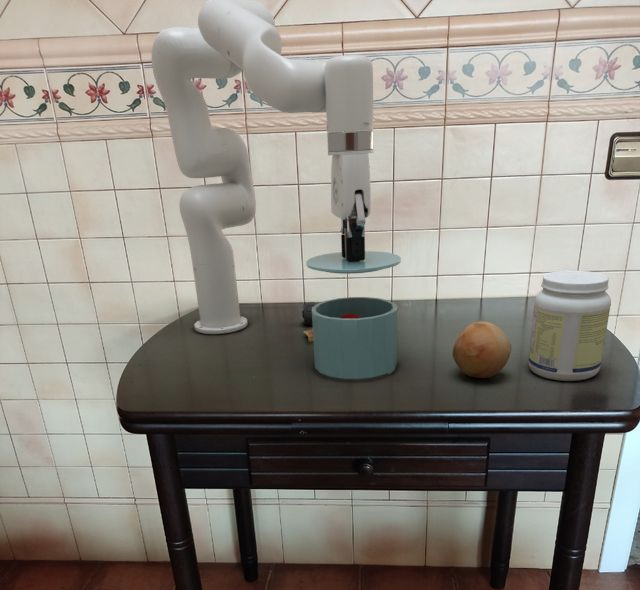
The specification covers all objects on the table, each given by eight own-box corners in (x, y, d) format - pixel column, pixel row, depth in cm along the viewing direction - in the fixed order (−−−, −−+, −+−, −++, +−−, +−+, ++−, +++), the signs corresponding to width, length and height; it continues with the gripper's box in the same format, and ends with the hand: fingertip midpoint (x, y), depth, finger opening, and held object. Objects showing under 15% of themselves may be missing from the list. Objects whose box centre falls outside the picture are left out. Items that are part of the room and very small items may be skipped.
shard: (354, 345, 126) (354, 337, 125) (323, 352, 123) (322, 344, 122) (329, 332, 134) (329, 325, 134) (299, 339, 131) (299, 331, 130)
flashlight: (303, 328, 139) (301, 305, 136) (302, 321, 143) (301, 299, 141) (368, 324, 139) (368, 301, 136) (366, 317, 144) (366, 295, 141)
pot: (307, 357, 120) (304, 301, 115) (383, 349, 123) (383, 293, 118) (323, 385, 106) (320, 323, 101) (407, 375, 109) (409, 314, 104)
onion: (515, 385, 102) (521, 329, 98) (456, 387, 103) (460, 331, 98) (501, 365, 111) (505, 313, 107) (447, 367, 112) (449, 315, 107)
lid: (299, 261, 112) (297, 225, 109) (385, 254, 115) (385, 218, 112) (316, 279, 97) (313, 238, 95) (414, 270, 100) (415, 229, 97)
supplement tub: (594, 360, 111) (609, 269, 104) (604, 385, 101) (622, 285, 93) (525, 357, 114) (535, 268, 107) (528, 381, 104) (539, 284, 96)
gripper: (318, 145, 104) (323, 253, 112) (339, 146, 90) (343, 269, 98) (360, 143, 105) (362, 249, 113) (387, 143, 91) (387, 265, 99)
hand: (353, 257), depth 106 cm, fingers closed on lid, 2 cm apart
